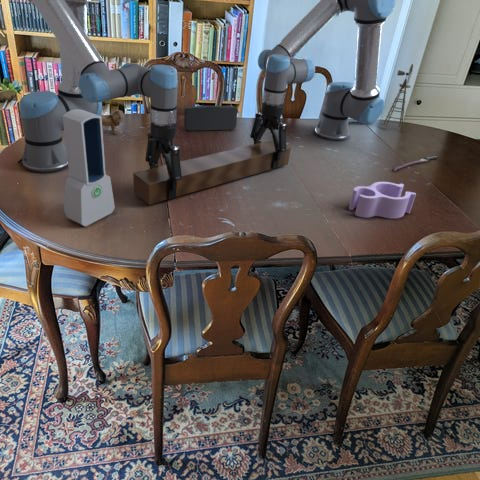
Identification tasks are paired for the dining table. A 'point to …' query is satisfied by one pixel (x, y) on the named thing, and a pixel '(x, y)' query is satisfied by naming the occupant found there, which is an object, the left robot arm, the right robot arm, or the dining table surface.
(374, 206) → the clip
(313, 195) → the dining table surface
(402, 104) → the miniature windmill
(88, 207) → the electronic device
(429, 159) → the sword
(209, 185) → the wide beam
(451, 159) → the dining table surface
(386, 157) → the dining table surface
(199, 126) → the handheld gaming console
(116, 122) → the lion figurine
